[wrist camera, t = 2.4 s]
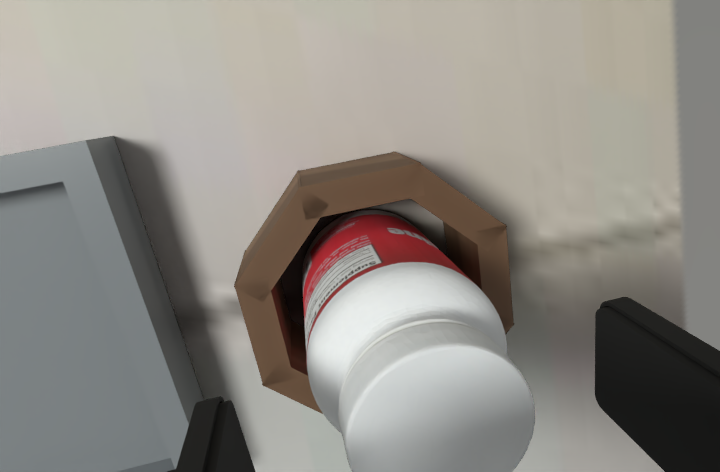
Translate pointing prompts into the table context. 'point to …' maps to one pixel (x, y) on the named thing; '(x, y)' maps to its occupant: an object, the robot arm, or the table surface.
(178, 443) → the tray
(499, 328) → the pill bottle
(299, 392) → the holder ring
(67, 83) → the table surface
